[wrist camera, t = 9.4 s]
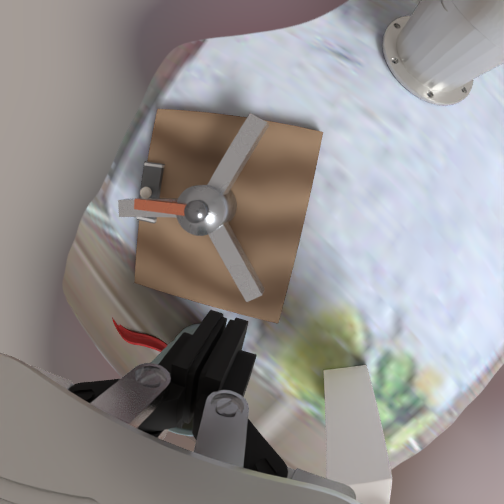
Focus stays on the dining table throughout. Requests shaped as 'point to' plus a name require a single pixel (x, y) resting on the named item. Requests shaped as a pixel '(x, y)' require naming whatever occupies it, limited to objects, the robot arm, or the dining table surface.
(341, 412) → the milk
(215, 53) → the dining table surface
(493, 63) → the robot arm
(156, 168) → the level window
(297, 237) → the board
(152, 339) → the cayenne pepper
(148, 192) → the level ball
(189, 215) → the capstan
